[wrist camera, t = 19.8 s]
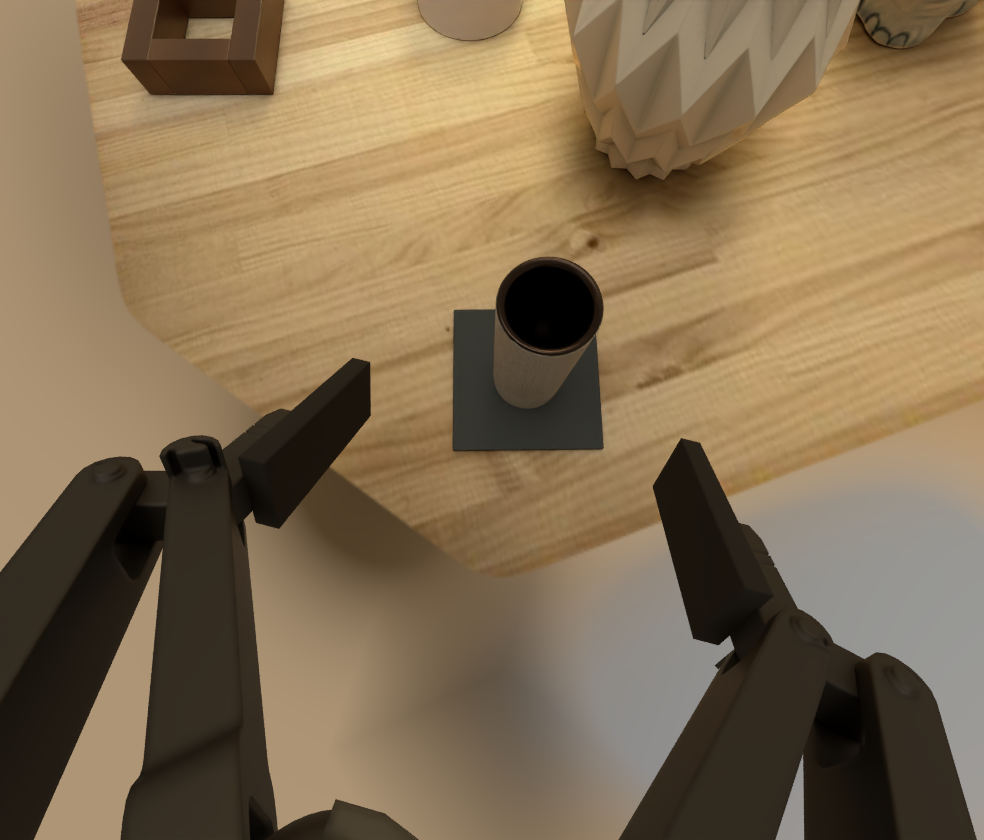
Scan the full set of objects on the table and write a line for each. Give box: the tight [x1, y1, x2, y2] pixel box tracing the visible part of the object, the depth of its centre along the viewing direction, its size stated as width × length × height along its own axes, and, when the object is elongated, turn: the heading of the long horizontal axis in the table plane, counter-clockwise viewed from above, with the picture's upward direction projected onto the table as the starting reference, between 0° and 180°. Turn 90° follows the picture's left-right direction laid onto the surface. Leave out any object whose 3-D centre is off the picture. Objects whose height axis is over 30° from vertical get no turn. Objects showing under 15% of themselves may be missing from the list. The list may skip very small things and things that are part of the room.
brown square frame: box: [121, 0, 284, 94], centre depth 30 cm, size 10×10×2 cm
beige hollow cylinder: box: [493, 257, 604, 409], centre depth 21 cm, size 4×4×10 cm
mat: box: [453, 310, 604, 451], centre depth 26 cm, size 10×10×1 cm
